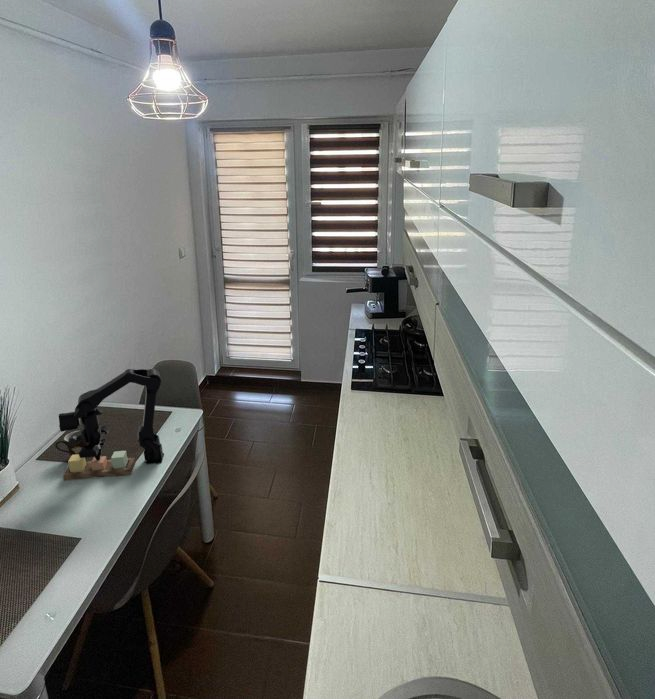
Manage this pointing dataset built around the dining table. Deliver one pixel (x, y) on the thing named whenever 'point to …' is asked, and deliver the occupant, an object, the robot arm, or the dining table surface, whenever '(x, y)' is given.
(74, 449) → the coffee mug
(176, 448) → the dining table surface
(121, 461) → the mint green cube
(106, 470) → the brown wooden board
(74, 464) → the yellow cube
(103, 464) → the terracotta cube
